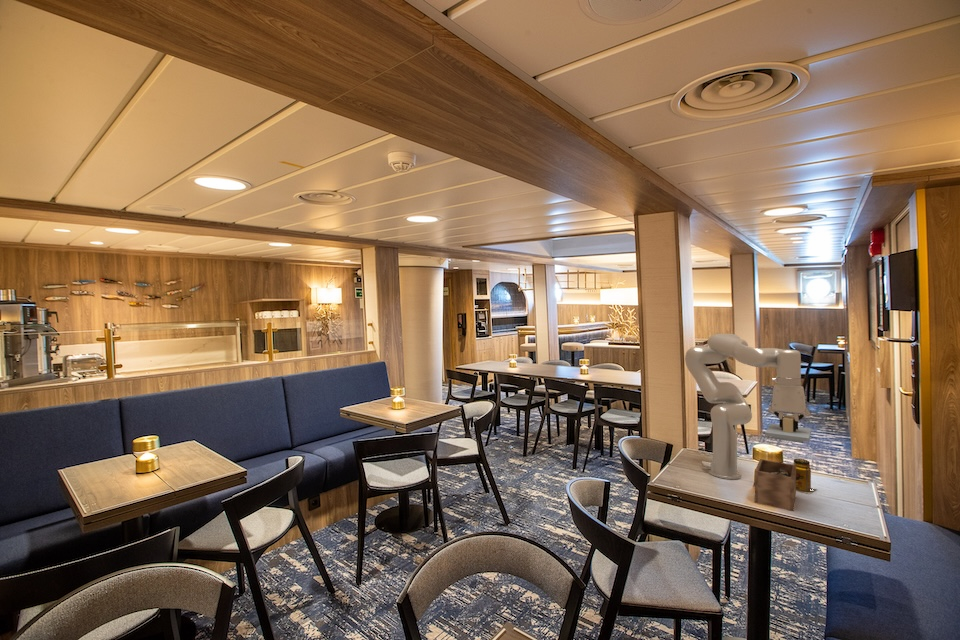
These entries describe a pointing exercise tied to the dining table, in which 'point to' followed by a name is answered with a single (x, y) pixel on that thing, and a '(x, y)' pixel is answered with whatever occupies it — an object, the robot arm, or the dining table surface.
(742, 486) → the dining table surface
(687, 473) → the dining table surface
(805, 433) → the lid
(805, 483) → the condiment
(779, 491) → the box
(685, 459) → the dining table surface
